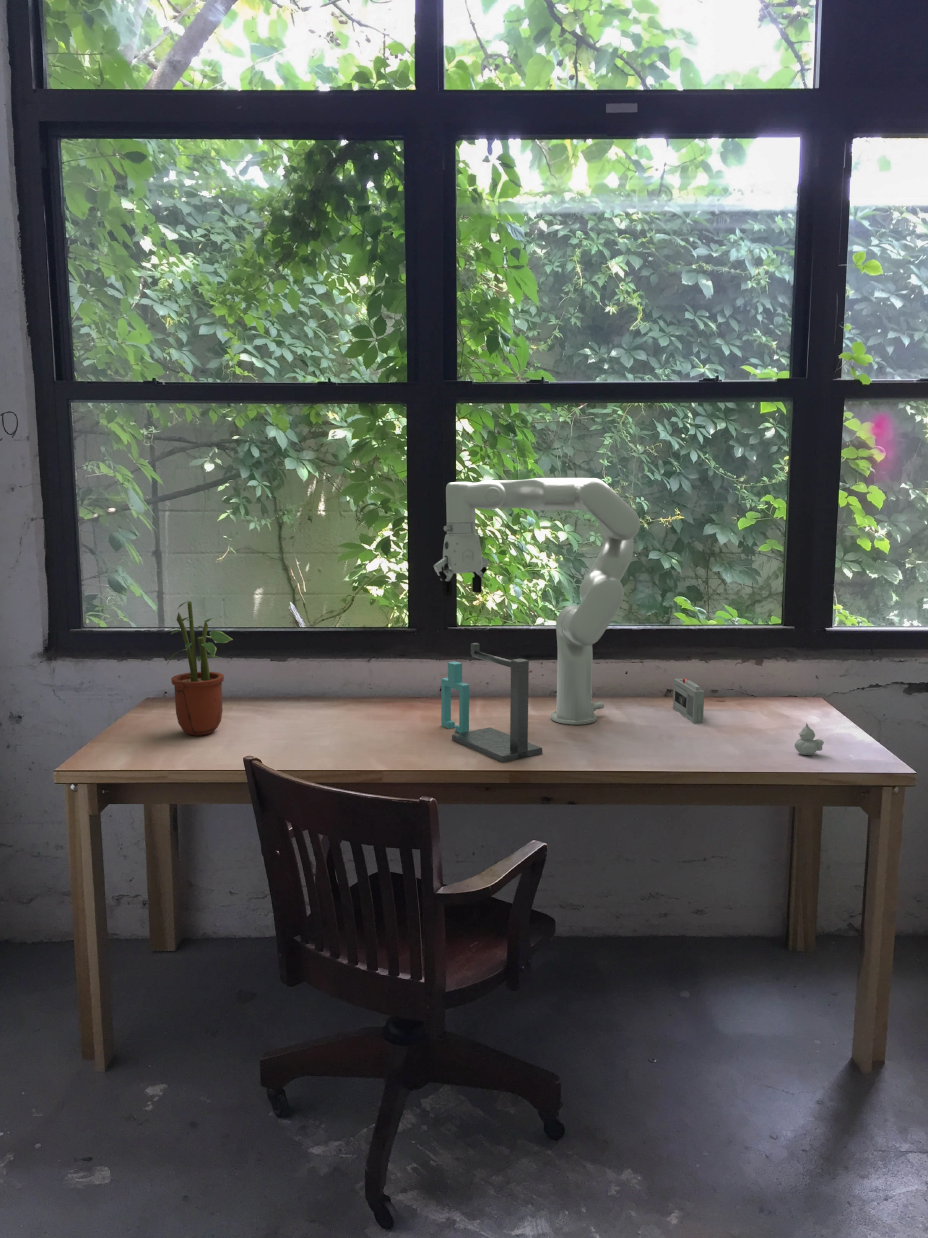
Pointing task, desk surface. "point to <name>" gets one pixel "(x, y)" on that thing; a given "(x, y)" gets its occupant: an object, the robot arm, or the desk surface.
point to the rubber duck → (808, 742)
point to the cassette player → (688, 700)
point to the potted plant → (198, 683)
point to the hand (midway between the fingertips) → (462, 594)
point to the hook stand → (517, 742)
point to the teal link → (456, 683)
